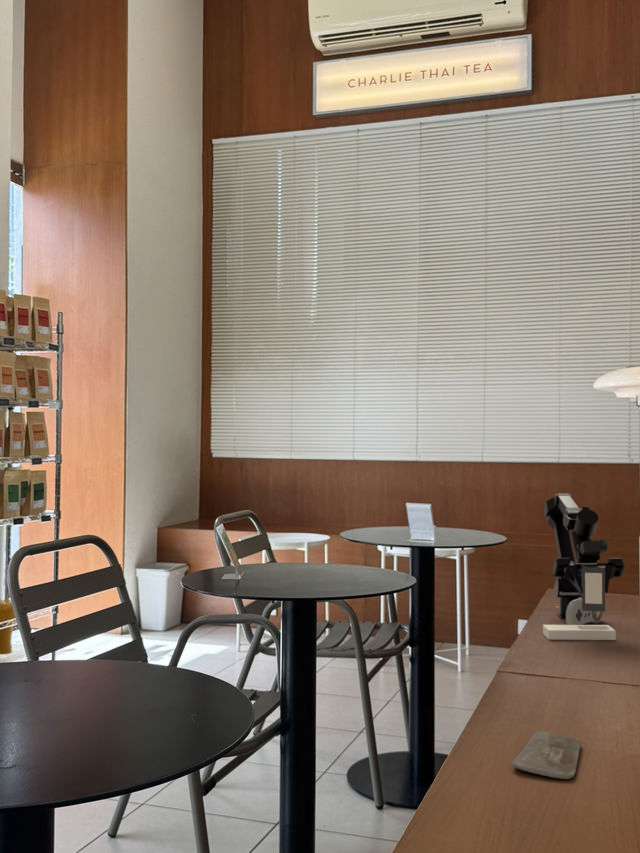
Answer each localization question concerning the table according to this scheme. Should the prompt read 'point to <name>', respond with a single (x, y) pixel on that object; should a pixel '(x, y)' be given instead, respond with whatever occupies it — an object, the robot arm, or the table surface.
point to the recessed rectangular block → (579, 632)
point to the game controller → (581, 614)
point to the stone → (549, 755)
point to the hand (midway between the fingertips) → (594, 592)
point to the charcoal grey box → (593, 588)
